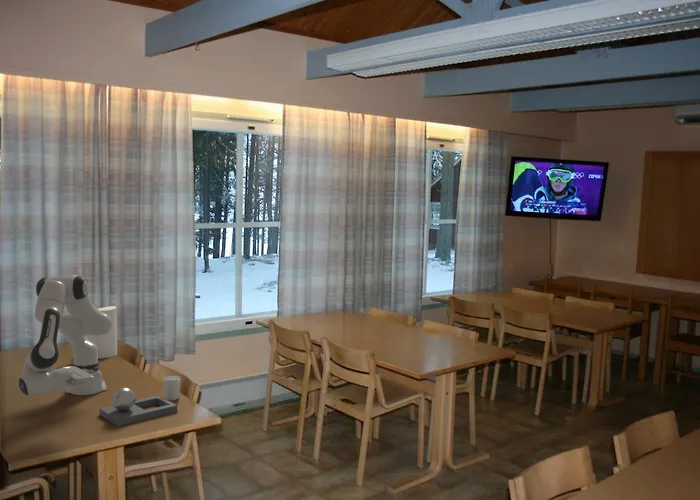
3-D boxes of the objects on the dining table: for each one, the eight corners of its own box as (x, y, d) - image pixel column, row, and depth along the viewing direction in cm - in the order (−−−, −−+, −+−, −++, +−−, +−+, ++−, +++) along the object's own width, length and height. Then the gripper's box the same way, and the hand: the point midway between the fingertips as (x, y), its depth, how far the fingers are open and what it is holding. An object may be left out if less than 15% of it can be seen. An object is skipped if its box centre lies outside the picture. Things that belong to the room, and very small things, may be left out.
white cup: (160, 397, 322) (160, 377, 321) (176, 394, 327) (176, 374, 326) (168, 401, 316) (167, 381, 315) (183, 398, 321) (183, 378, 320)
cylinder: (123, 353, 401) (122, 307, 398) (98, 359, 386) (98, 311, 383) (104, 349, 410) (103, 304, 407) (79, 355, 395) (78, 308, 392)
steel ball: (113, 407, 299) (112, 385, 298) (136, 405, 301) (136, 384, 300) (110, 414, 289) (110, 392, 288) (135, 413, 291) (134, 391, 290)
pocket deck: (117, 426, 284) (117, 419, 284) (99, 415, 297) (99, 408, 297) (177, 411, 303) (177, 405, 303) (158, 401, 316) (157, 395, 316)
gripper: (72, 377, 267) (106, 371, 277) (53, 366, 282) (86, 360, 292) (73, 392, 268) (106, 386, 278) (53, 381, 283) (86, 375, 292)
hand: (96, 373), depth 285 cm, fingers open, 4 cm apart
